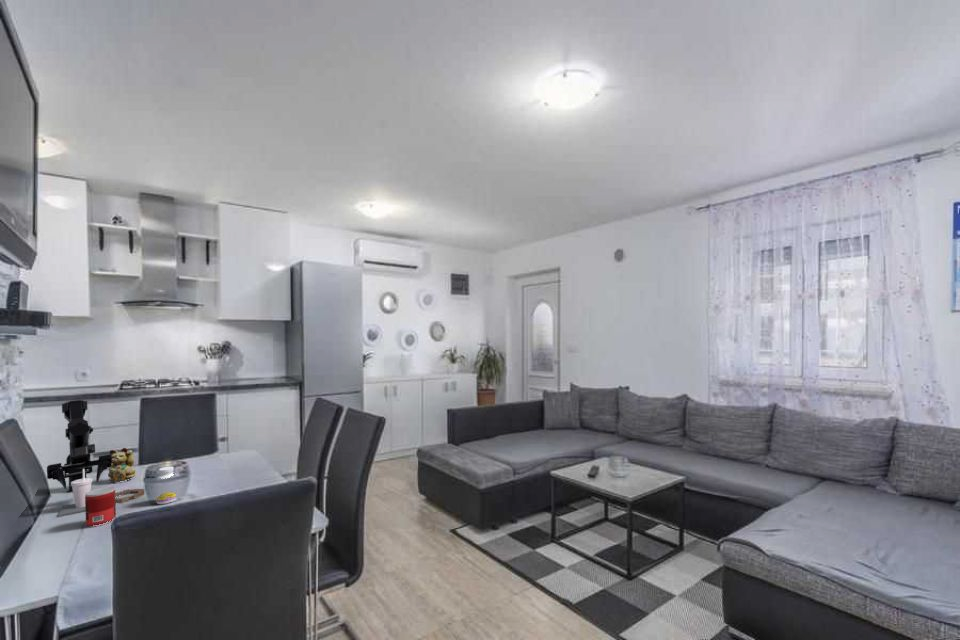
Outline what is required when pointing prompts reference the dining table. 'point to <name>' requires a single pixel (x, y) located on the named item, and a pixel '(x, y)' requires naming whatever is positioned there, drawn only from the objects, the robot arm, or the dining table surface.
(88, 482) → the smoothie
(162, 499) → the supplement bottle
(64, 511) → the coaster
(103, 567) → the dining table surface
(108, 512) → the canned food
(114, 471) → the decorative figurine
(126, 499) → the collar
